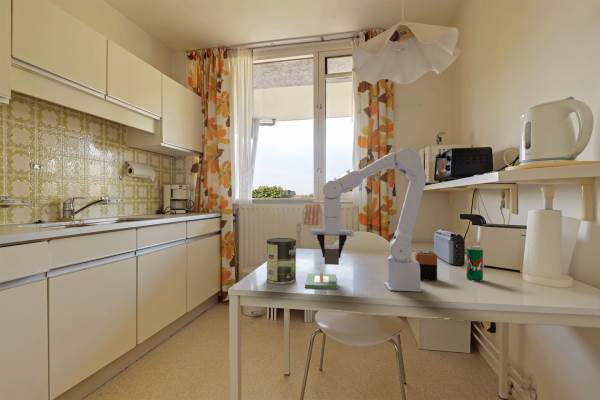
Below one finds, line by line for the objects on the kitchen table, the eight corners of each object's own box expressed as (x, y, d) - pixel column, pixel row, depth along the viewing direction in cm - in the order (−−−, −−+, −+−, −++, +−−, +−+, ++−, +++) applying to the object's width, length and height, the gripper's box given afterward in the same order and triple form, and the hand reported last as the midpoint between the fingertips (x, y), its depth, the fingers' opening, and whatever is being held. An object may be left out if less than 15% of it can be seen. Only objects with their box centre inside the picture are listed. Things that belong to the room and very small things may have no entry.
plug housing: (338, 259, 101) (338, 245, 101) (338, 264, 93) (338, 249, 93) (324, 259, 101) (325, 244, 101) (324, 264, 93) (324, 248, 93)
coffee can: (299, 277, 103) (299, 238, 103) (291, 285, 93) (291, 242, 93) (272, 275, 106) (272, 237, 106) (261, 282, 96) (261, 240, 96)
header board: (335, 277, 104) (335, 267, 104) (336, 289, 90) (336, 277, 90) (308, 276, 105) (308, 266, 105) (305, 287, 91) (305, 276, 91)
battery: (437, 281, 99) (437, 252, 99) (416, 279, 101) (416, 251, 101) (435, 278, 104) (435, 250, 104) (414, 276, 105) (415, 249, 105)
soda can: (482, 278, 103) (482, 245, 103) (484, 282, 98) (484, 247, 98) (465, 277, 105) (466, 244, 105) (467, 280, 100) (467, 246, 101)
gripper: (352, 216, 100) (352, 255, 100) (311, 216, 102) (310, 254, 102) (354, 217, 93) (353, 259, 93) (310, 217, 95) (309, 258, 95)
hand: (331, 257), depth 97 cm, fingers closed on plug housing, 5 cm apart
